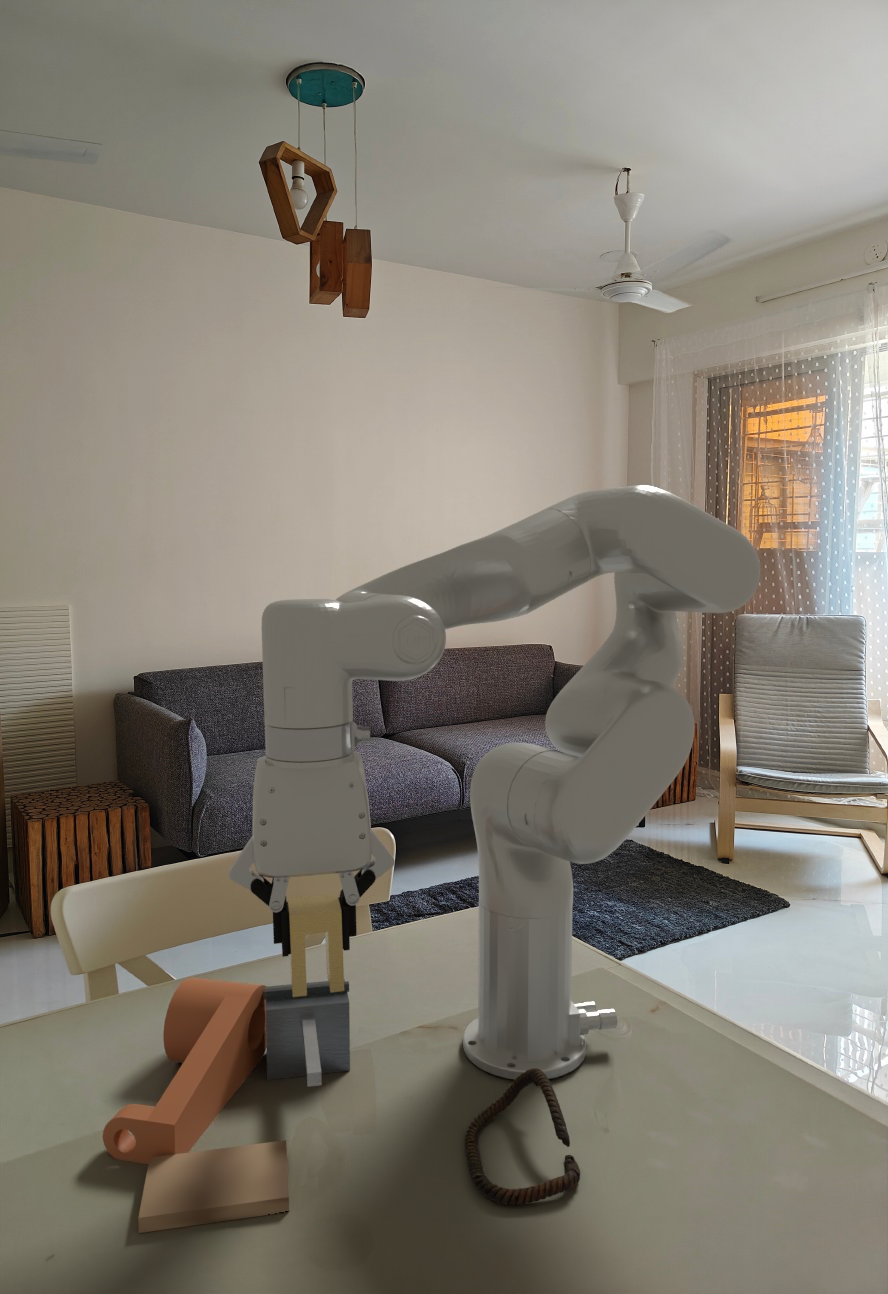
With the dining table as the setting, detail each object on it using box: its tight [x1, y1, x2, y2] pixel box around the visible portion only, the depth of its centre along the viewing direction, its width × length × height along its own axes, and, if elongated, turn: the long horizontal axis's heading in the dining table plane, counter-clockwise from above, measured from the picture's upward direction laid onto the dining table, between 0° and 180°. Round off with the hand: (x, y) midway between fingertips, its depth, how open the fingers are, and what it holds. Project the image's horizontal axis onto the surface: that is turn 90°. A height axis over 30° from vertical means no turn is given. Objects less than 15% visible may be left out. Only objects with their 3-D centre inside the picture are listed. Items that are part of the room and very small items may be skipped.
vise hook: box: [264, 978, 351, 1087], centre depth 85 cm, size 8×16×8 cm, turn 12°
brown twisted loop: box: [464, 1068, 581, 1206], centre depth 75 cm, size 13×5×10 cm
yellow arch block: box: [287, 893, 345, 997], centre depth 78 cm, size 4×4×7 cm
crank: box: [102, 977, 267, 1165], centre depth 84 cm, size 20×8×8 cm, turn 167°
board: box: [137, 1140, 290, 1234], centre depth 71 cm, size 11×7×1 cm, turn 102°
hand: (315, 944), depth 78 cm, fingers closed on yellow arch block, 4 cm apart
